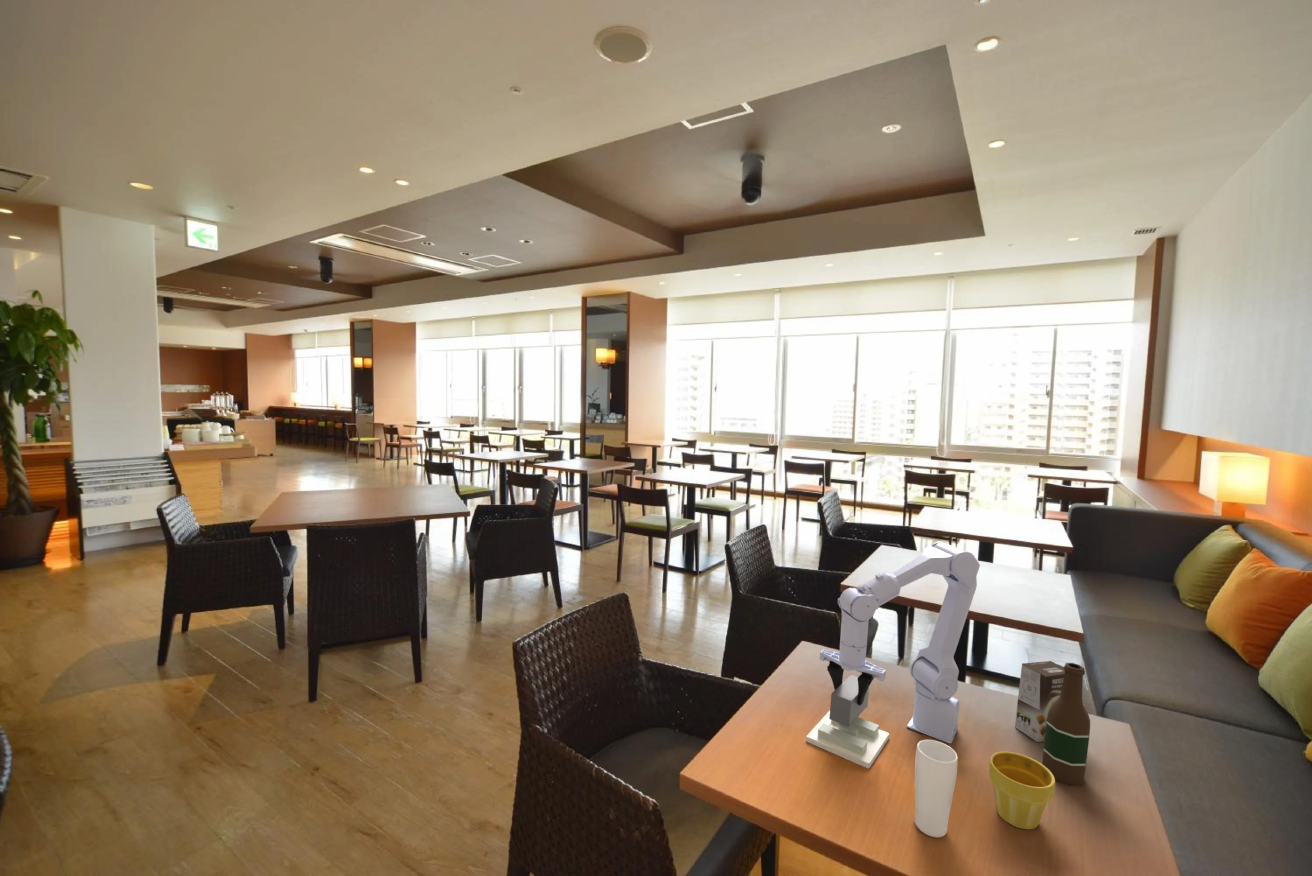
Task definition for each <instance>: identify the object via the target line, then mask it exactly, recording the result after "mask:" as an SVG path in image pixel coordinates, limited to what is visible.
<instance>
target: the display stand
mask: <svg viewBox="0 0 1312 876" xmlns="http://www.w3.org/2000/svg"><path fill="white" fill-rule="evenodd" d="M829 717H830V710H828V711H827V713H826V714H825V715H824V716H823V717H822V718H821V720H819V722H818V723H817V724H816V725H815V726H814V727H813V728H812V729H811V731H810V732H809V733H808V734H807V735H806V738H805V742H806V743H809V744H810V745H813V746H816V747H818V748H820V749H823V750H825V751H827V752H829V753H831V754H833V755H836V756H838V757H841V758H843V759H845V760H848V761H849V762H852V763H854V764H857V765H859V766H861V767H864V768H866V769H868V770H869V769H870V768H871V767H872V765H873V764H874V762H875V760H876V759H877V757H878V756H879V754H880V753H881V752H882V750H883V748H884V747H885V745H886V743H887V742H888V741H889V739H890V733H889V732H887V731H885V730H882V729H879V728H880V725H879V724H877V723H874V722H872V721H869V720H867V719H863V718H861V717H859V716H858V717H857V719H856V720H855V721H854V722H853V723H852V724H851V725H850V727H848V726H845V725H843V724H840V723H838V722H835V721H833V720H830V719H829Z"/></svg>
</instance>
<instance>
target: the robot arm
mask: <svg viewBox="0 0 1312 876" xmlns="http://www.w3.org/2000/svg"><path fill="white" fill-rule="evenodd" d="M980 567H981V564H980V563H979V561H978V560H977V557H975V555H974V554H973V553H972V552H969V551H965V550H963V549H960V548H958V547H956V546H953V545H951V544H949V543H947V542H945V541H942V540H939V541H935V542H933V543H932V544H931V545H928V546H926V547H924V550H923V551H922V553H921V554H919V555H918V556H916V557H915V558H913V559H912V560H911V561H909V562H907V563H906V564H905V565H903V566H902V567H899V569H897V570H896V571H894V572H893V573H888V572H882V573H880V572H877V574H875V575H874V577H873V578H872V579H870V580H868V581H866V582H864V583H860V584H859V585H857V587H849V588H846V589H845V590H843V591H842V593H840V596H839V597H838V598H837V604H838V606H839V608H840V611H841V622H840V623H841V625H840V626H841V628H840V640H839V651H838V652H837V651H831V650H827V649H824V648H823V649H821V651H820V652H819V660H820V661H822V662H825V661H827V662H829V663H828V665H827V667H826V668H827V670H826V671H827V672H828V674H829V676H830V678H831V681H832V685H833V689H834V690H833V691H835V690H836V689H837V688H838V687H839V686H840V685H841V684H842V683H843V677H844V671H847V672H848V671H849V672H850V671H851V672H852V671H855V672H859V673H860V675H859V676H857V677H858V699H857V704H858V705H861V704H862V703H863V701H864V697H865V694H866V692H867V689H868V687H869V688H870V685H871V684H872V683H873V681H874V679H877V680H878V681H879V682H884V680H885V679H886V673H887V671H886V669H884V668H881V667H879V666H877V665H875V664H873V663H871V662H870V661H867V660H866V659H867V645H868V632H869V620H871V619H872V618H873V616H874V614H875V613H876V610H878V609H879V608H880V607H881V606H882V605H884V604H886V603H887V602H889V601H891V600H893V599H895V598H896V597H898V596H899V595H900V593H901V589H902V588H903V587H905V586H908V585H910V584H911V583H914V582H916V581H918V580H919V579H922V578H924V577H926V576H928V575H930V574H934V575H939V576H942V577H943V578H944V580H945V582H946V583H947V586H948V587H947V589H946V592H945V595H944V598H943V601H942V605H941V607H940V609H939V613H938V616H937V620H936V622H935V624H934V625H935V626H934V629H933V632H932V634H931V638H930V640H929V643H928V646H927V647H925V648H921V649H919V650H918V653H917V656H916V657H915V658H914V659H913V661H912V662H911V664H910V666H909V667H910V668H909V673H910V676H911V677H912V678H913V679H914V682H913V684H914V686H915V688H914V699H913V701H914V702H913V713H912V717H911V719H910V720H909V722H908V723H907V728H909V729H910V730H913V731H916V732H919V733H922V734H924V735H926V736H929V737H931V738H935V739H937V740H940V741H941V742H945V743H947V744H952V742H953V740H954V738H955V735H956V733H957V731H958V729H959V714H960V700H959V699H957V698H956V697H954V695H956V693H957V690H958V688H959V684H958V682H959V681H958V678H959V673H960V671H959V668H958V665H957V664H956V661H955V658H954V656H955V653H956V651H957V647H958V645H959V642H960V638H961V635H962V632H963V629H964V626H965V623H966V620H967V617H968V614H969V611H970V608H971V604H972V602H973V600H974V595H975V593H976V590H977V586H978V585H977V584H978V581H977V579H978V578H977V575H978V572H979V571H980V570H979V569H980Z"/></svg>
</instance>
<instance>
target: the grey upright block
mask: <svg viewBox="0 0 1312 876" xmlns="http://www.w3.org/2000/svg"><path fill="white" fill-rule="evenodd" d="M858 677H859V676H855V675H852V674H851V675H849V676H848V677H847V678H845V680H844V681H842V684H841V685H840V686H839V687H838V688H837V689H836V690H833V691H832V692H831V693H830V695H831V696H830V705H829V711H830V717H829V719H830V720H833V721H835V722H838V723H840V724H843V725H845V726H848V727H850V725H851V724H852V723H853V722H854V721H855V720H856V719H857V717H859V716H860V715H861V714H862V712H864V711H865V709H867V707H868V704H869V692H870V691H869V690H870V686H869V687H868V689H867V692H866V694H865V697H864V701H863V703H862V704H861V705H858V704H857V699H858Z"/></svg>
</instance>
